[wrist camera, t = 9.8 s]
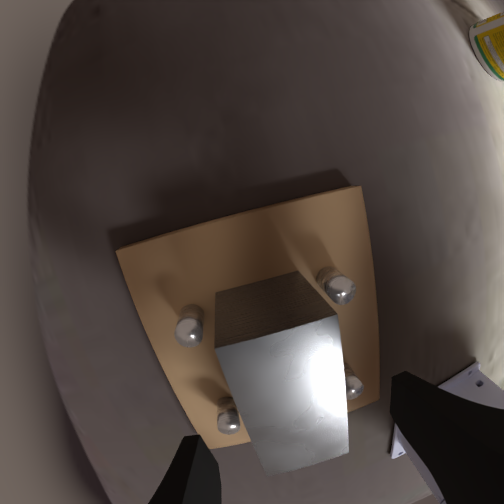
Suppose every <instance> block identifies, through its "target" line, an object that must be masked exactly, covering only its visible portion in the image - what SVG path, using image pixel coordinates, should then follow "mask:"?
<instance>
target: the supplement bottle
mask: <svg viewBox="0 0 504 504" xmlns="http://www.w3.org/2000/svg"><path fill="white" fill-rule="evenodd" d="M469 38H470V42H471V45H472V48H473V50H474V52H475V54H476V56H477V58H478V60H479V62H480V63H481V65H482V66H483V68H484V69H485V70H486V71H487V72H488V73H489V74H490V75H491V76H492V77H493V78H495V79H496V80H498V81H504V12H502V13H499V14H497V15H494V16H492V17H489V18H487V19H484V20H482V21H480V22H478V23H476V24H474V25H472V26H471V27H470V30H469Z"/></svg>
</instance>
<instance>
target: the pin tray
mask: <svg viewBox="0 0 504 504" xmlns="http://www.w3.org/2000/svg"><path fill="white" fill-rule="evenodd" d="M116 254H117V257H118V260H119V263H120V266H121V269H122V272H123V275H124V278H125V280H126V283H127V286H128V288H129V291H130V294H131V296H132V299H133V302H134V304H135V307H136V309H137V312H138V314H139V317H140V319H141V321H142V324H143V326H144V328H145V331H146V333H147V335H148V338H149V340H150V342H151V344H152V347H153V349H154V351H155V353H156V355H157V357H158V360H159V362H160V364H161V366H162V368H163V370H164V372H165V374H166V376H167V378H168V380H169V382H170V384H171V386H172V388H173V390H174V392H175V394H176V396H177V397H178V399H179V401H180V403H181V405H182V407H183V409H184V410H185V412H186V414H187V416H188V417H189V419H190V421H191V423H192V424H193V426H194V428H195V430H196V431H197V433H198V435H199V434H200V435H201V437H202V439H203V440H204V442H205V444H206V445H207V447H208V448H209V449H214V448H220V447H226V446H231V445H236V444H241V443H246V442H251V439H250V437H249V435H248V433H247V430H246V428H245V425H244V423H243V421H242V418H241V416H240V414H239V411H238V409H237V406H236V404H235V401H234V399H233V396H232V394H231V391H230V389H229V386H228V384H227V381H226V378H225V376H224V373H223V371H222V368H221V365H220V363H219V360H218V357H217V354H216V352H215V349H214V337H215V292H219V291H223V290H227V289H231V288H234V287H238V286H242V285H246V284H250V283H253V282H257V281H261V280H265V279H268V278H272V277H276V276H279V275H283V274H287V273H290V272H294V271H299V272H300V273H301V274H302V275H303V276H304V277H305V278H306V280H307V281H308V282H309V283H310V284H311V285H312V286H313V287H314V288H315V289H316V291H317V292H318V293H319V294H320V295H321V296H322V297H323V298H324V299H325V300H326V302H327V303H328V304H329V305H330V306H331V307H332V308H333V309H334V310H335V312H336V313H337V314H338V319H339V328H340V336H341V345H342V355H343V365H344V376H345V389H346V403H347V413H348V412H351V411H353V410H356V409H358V408H361V407H363V406H366V405H368V404H370V403H373V402H375V401H377V400H379V393H380V354H379V327H378V310H377V297H376V286H375V275H374V266H373V258H372V250H371V243H370V236H369V229H368V222H367V216H366V210H365V205H364V199H363V194H362V189H361V186H349V187H344V188H340V189H335V190H331V191H326V192H322V193H318V194H313V195H309V196H305V197H301V198H297V199H293V200H288V201H284V202H280V203H276V204H272V205H268V206H264V207H260V208H257V209H253V210H249V211H245V212H241V213H237V214H234V215H230V216H226V217H222V218H219V219H215V220H211V221H208V222H204V223H201V224H197V225H193V226H190V227H186V228H183V229H179V230H176V231H173V232H169V233H166V234H162V235H159V236H156V237H152V238H149V239H146V240H142V241H139V242H136V243H132V244H129V245H126V246H123V247H121V248H119V249H118V250H116Z"/></svg>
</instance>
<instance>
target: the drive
mask: <svg viewBox="0 0 504 504" xmlns="http://www.w3.org/2000/svg"><path fill="white" fill-rule="evenodd" d="M214 349H215V352H216V354H217V357H218V360H219V363H220V365H221V368H222V371H223V373H224V376H225V378H226V381H227V384H228V386H229V389H230V391H231V394H232V396H233V399H234V401H235V404H236V406H237V409H238V411H239V414H240V416H241V418H242V421H243V423H244V425H245V428H246V430H247V433H248V435H249V437H250V439H251V442H252V444H253V446H254V449H255V451H256V453H257V455H258V457H259V460H260V462H261V464H262V466H263V468H264V470H265V473H266V475H267V476H272V475H276V474H280V473H284V472H288V471H292V470H296V469H300V468H303V467H307V466H310V465H313V464H317V463H320V462H323V461H326V460H329V459H332V458H335V457H338V456H340V455H343V454H346V453H349V445H348V420H347V403H346V389H345V376H344V365H343V355H342V345H341V336H340V328H339V319H338V314H337V313H336V312H335V310H334V309H333V308H332V307H331V306H330V305H329V304H328V303H327V302H326V300H325V299H324V298H323V297H322V296H321V295H320V294H319V293H318V292H317V291H316V289H315V288H314V287H313V286H312V285H311V284H310V283H309V282H308V281H307V280H306V278H305V277H304V276H303V275H302V274H301V273H300V272H299V271H294V272H290V273H287V274H283V275H279V276H276V277H272V278H268V279H265V280H261V281H257V282H253V283H250V284H246V285H242V286H238V287H234V288H231V289H227V290H223V291H219V292H215V337H214Z"/></svg>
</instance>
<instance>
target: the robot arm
mask: <svg viewBox="0 0 504 504" xmlns="http://www.w3.org/2000/svg"><path fill="white" fill-rule="evenodd" d="M479 369H480V363H479V362H475V363H474V364H472V365H471V366H469V367H468V368H466V369H465V370H463V371H462V372H460V373H459V374H457V375H456V376H454V377H452V378H451V379H449V380H448V381H446V382H444V383H443V384H441V385H439V386H438V387H437V386H435V385H432V384H430V383H428V382H426V381H424V380H422V379H421V378H419V377H417V376H415V375H413V374H411V373H409V372H407V371H404V372H402V373H400V374H398V375H396V376H393V377H392V387H391V404H390V413H391V415H392V417H393V419H394V421H395V426H394V434H393V441H392V447H391V453H390V457H391V458H392V459H394V458H397V457H399V456H401V455H402V454H404V453H407V455H408V456H409V458H410V459H411V461H412V462H413V464H414V465H415V467H416V469H417V470H418V472H419V473H420V475H421V476H422V478H423V479H424V481H425V482H426V484H427V485H428V487H429V488H430V490H431V491H432V493H433V494H434V496H435V497H436V499H437V500H438V502H439V503H440V504H504V391H503V390H502V389H501V388H500V387H499V386H497V385H496V384H495V383H494V382H493V381H491V380H490V379H489V378H488V377H487V376H485V375H484V374H483V373H482V372H480V371H479ZM148 504H221V480H220V473H219V466H218V463H217V461H216V460H215V458H214V456H213V455H212V453H211V452H210V450H209V448H208V447H207V445H206V444H205V442H204V440H203V439H202V437H201V435H200V434H199V435H192V436H185V437H184V438H183V439H182V441H181V443H180V446H179V448H178V450H177V452H176V454H175V456H174V459H173V461H172V463H171V465H170V467H169V469H168V471H167V472H166V474H165V476H164V478H163V480H162V482H161V484H160V485H159V487H158V489H157V490H156V492H155V494H154V495H153V497H152V498H151V500H150V502H149V503H148Z"/></svg>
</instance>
